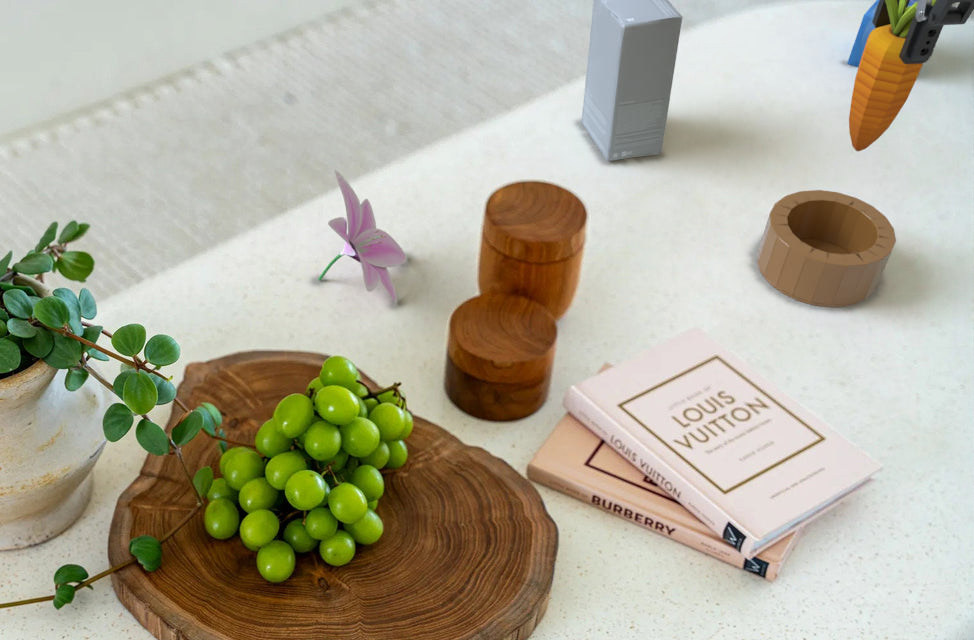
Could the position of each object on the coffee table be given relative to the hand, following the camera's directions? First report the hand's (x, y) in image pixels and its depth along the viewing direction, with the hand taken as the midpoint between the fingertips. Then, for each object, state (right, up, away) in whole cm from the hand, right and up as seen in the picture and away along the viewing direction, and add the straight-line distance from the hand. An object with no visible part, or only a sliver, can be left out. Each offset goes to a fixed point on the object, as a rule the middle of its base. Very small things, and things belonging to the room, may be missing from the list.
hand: (898, 43), depth 94 cm
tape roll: (0, -16, +16) cm, 23 cm away
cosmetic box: (-16, -1, +31) cm, 35 cm away
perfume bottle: (+18, +11, +42) cm, 47 cm away
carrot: (0, -7, +8) cm, 11 cm away
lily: (-44, -18, +14) cm, 49 cm away
